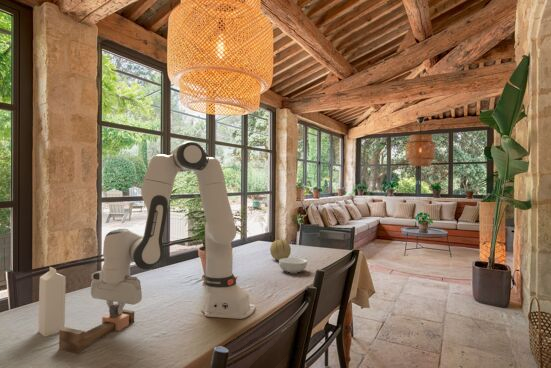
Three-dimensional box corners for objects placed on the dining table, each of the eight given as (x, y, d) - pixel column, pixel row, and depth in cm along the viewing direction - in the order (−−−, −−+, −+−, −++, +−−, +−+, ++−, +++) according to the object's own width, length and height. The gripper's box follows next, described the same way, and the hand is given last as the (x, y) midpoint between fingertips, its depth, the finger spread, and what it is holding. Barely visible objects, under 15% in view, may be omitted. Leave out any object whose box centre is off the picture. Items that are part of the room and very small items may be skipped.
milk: (57, 326, 115) (59, 264, 115) (64, 330, 111) (66, 267, 112) (37, 332, 110) (39, 268, 110) (44, 337, 106) (46, 271, 107)
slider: (128, 324, 116) (129, 303, 116) (118, 330, 111) (118, 308, 111) (113, 322, 118) (113, 301, 118) (102, 327, 114) (102, 305, 114)
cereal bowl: (311, 271, 197) (311, 259, 197) (298, 277, 183) (298, 264, 183) (287, 266, 206) (287, 255, 206) (273, 272, 192) (273, 260, 192)
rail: (136, 322, 119) (136, 306, 119) (78, 354, 96) (79, 334, 96) (119, 319, 122) (119, 303, 122) (59, 349, 99) (59, 329, 99)
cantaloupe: (283, 263, 214) (284, 241, 214) (265, 260, 222) (266, 239, 222) (294, 259, 226) (295, 238, 226) (277, 256, 234) (277, 236, 234)
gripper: (146, 275, 115) (145, 313, 115) (102, 269, 121) (101, 306, 121) (133, 280, 109) (132, 320, 109) (87, 273, 115) (86, 312, 115)
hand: (115, 312), depth 115 cm, fingers closed on slider, 2 cm apart
